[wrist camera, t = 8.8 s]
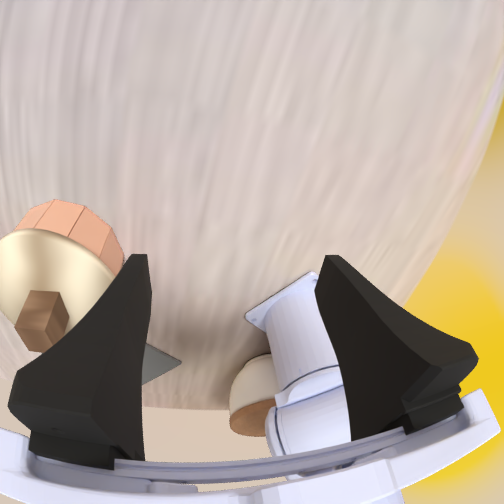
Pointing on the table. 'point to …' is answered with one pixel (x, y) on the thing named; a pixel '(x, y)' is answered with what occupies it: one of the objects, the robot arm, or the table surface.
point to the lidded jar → (253, 396)
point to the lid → (48, 284)
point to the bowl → (77, 229)
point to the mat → (156, 363)
